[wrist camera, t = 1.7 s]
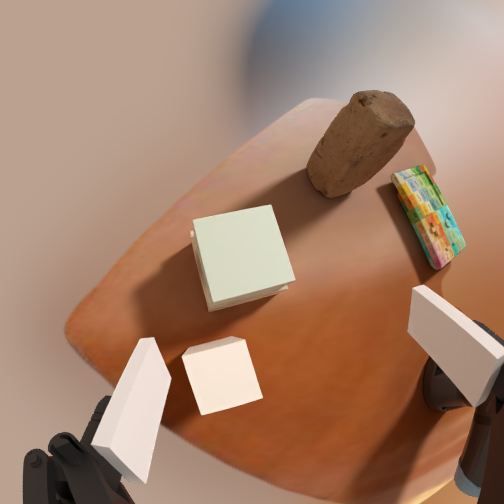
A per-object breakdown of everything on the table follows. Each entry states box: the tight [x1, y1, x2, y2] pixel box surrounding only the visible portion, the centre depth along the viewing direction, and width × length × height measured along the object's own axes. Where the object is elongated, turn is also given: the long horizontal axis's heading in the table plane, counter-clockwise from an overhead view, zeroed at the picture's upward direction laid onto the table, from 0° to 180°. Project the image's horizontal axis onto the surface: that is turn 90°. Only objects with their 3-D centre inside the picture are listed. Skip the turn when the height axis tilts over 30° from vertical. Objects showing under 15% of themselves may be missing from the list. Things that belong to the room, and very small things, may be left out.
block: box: [307, 90, 415, 198], centre depth 36 cm, size 11×8×20 cm
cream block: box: [182, 336, 263, 415], centre depth 29 cm, size 6×6×12 cm
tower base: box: [190, 231, 288, 312], centre depth 36 cm, size 10×10×5 cm
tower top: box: [193, 205, 295, 306], centre depth 31 cm, size 9×9×5 cm
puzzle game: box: [391, 164, 466, 270], centre depth 46 cm, size 12×5×20 cm
